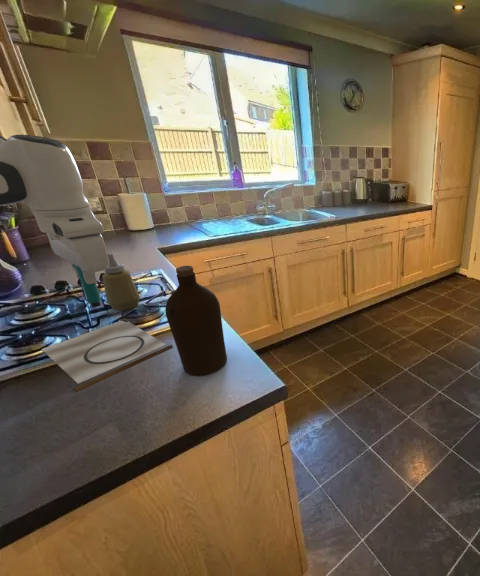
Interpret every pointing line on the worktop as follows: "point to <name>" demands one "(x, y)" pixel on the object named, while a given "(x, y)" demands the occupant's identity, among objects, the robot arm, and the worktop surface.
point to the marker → (89, 290)
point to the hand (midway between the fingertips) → (87, 280)
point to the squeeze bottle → (119, 286)
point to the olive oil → (196, 325)
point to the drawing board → (103, 351)
